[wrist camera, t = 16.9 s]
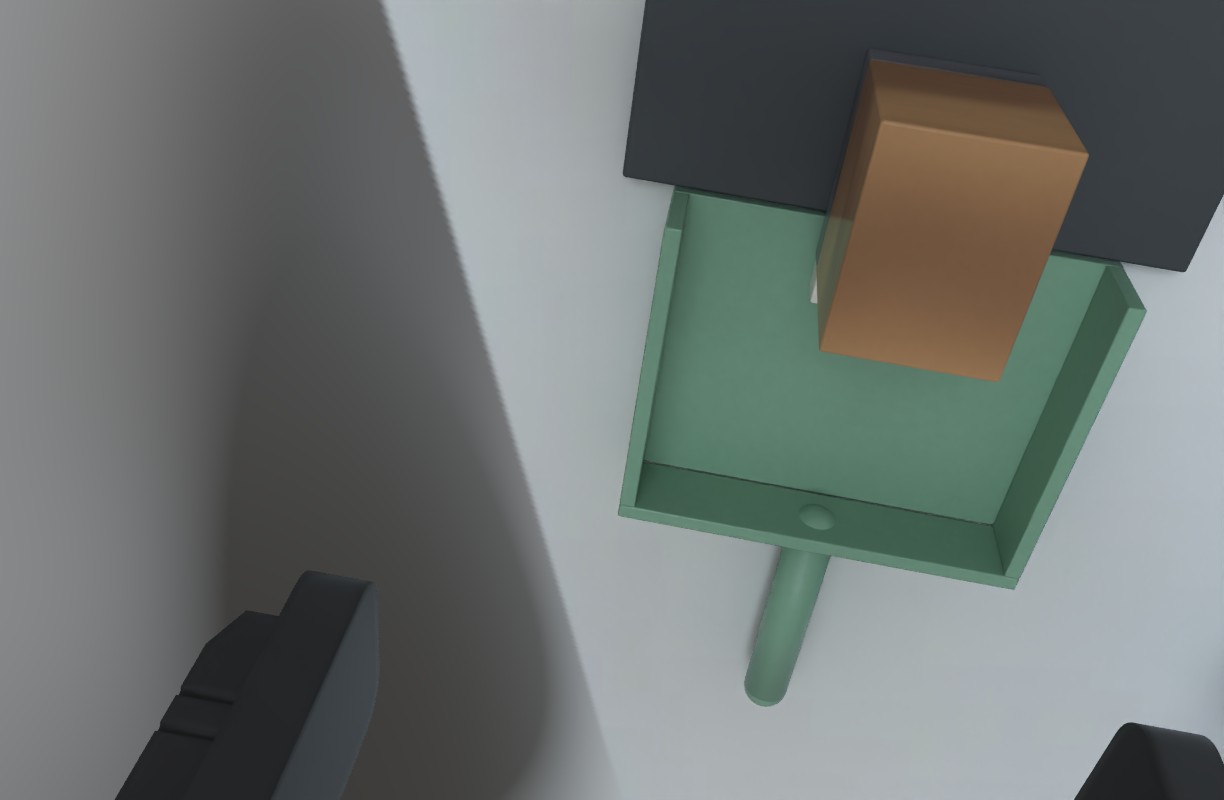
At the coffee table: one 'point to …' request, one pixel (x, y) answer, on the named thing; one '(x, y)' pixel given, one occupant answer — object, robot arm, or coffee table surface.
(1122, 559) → the coffee table surface
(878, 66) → the eraser
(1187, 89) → the slate
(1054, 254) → the dustpan
